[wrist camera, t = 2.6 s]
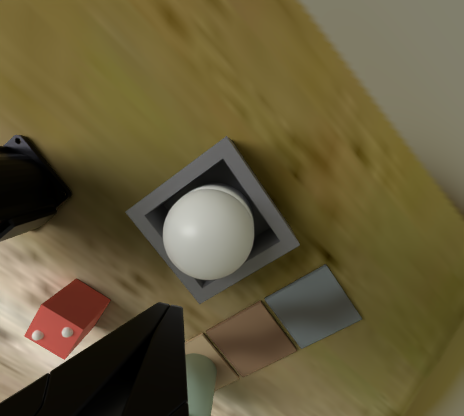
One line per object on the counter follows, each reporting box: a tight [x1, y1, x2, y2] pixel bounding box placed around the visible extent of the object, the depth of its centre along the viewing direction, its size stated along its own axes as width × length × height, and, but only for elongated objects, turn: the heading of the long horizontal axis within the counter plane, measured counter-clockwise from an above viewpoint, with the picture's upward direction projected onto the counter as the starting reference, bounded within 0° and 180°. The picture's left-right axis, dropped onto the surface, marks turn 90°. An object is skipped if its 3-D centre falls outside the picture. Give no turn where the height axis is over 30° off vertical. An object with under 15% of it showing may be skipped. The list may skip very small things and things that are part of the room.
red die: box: [25, 279, 111, 360], centre depth 21 cm, size 4×4×4 cm
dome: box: [163, 183, 254, 280], centre depth 15 cm, size 6×6×6 cm
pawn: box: [186, 353, 217, 416], centre depth 20 cm, size 4×4×8 cm
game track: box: [185, 264, 362, 391], centre depth 23 cm, size 6×20×1 cm, turn 125°
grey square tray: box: [126, 136, 300, 304], centre depth 18 cm, size 9×9×4 cm
